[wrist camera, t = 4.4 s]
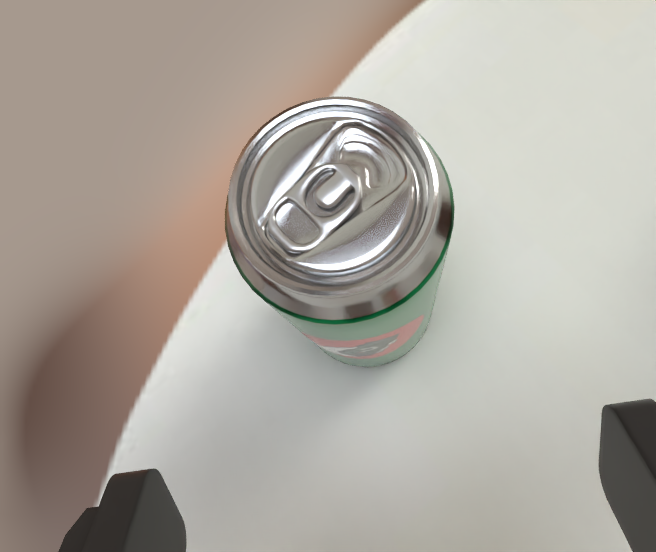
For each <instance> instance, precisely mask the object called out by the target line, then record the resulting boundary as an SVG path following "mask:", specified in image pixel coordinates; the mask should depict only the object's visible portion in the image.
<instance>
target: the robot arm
mask: <svg viewBox="0 0 656 552" xmlns="http://www.w3.org/2000/svg"><path fill="white" fill-rule="evenodd" d="M599 473H600V478H601V483H602V486H603V490H604V493H605V495H606V498H607V500H608V502H609V505H610V507H611V509H612V511H613V513H614V515H615V517H616V519H617V521H618V523H619V525H620V527H621V529H622V531H623V533H624V535H625V537H626V539H627V541H628V543H629V545H630V547H631V549H632V551H633V552H656V402H655V401H654V400H652V399H644V400H637V401H630V402H623V403H616V404H609V405H605V406H604V407H603V410H602V419H601V435H600V451H599ZM59 552H186V530H185V525H184V521H183V519H182V516H181V514H180V512H179V510H178V508H177V506H176V504H175V502H174V500H173V498H172V496H171V494H170V492H169V490H168V488H167V486H166V484H165V482H164V480H163V478H162V476H161V474H160V472H159V471H158V470H157V469H147V470H140V471H133V472H126V473H119V474H115V475H113V476H112V477H111V478H110V480H109V482H108V484H107V486H106V489H105V492H104V494H103V497H102V499H101V502H100V505H99V507H92V508H87V509H86V510H85V511H84V513H83V514H82V515H81V516H80V518H79V519H78V520H77V521H76V523H75V524H74V525H73V526H72V528H71V529H70V530H69V531H68V533H67V534H66V535H65V537H64V540H63V542H62V545H61V547H60V549H59Z"/></svg>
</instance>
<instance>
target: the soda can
mask: <svg viewBox="0 0 656 552" xmlns="http://www.w3.org/2000/svg"><path fill="white" fill-rule="evenodd" d="M453 223H454V201H453V192H452V188H451V184H450V181H449V177H448V174H447V172H446V170H445V168H444V166H443V164H442V162H441V159H440V158H439V156H438V155H437V154H436V152H435V151H434V149H433V148H432V147H431V145H430V144H429V143H428V142H427V141H426V140H425V139H424V138H423V137H422V136H421V135H420V134H419V133H418V132H417V131H415V130H414V129H413V128H412V126H411V125H410V124H409V123H408V122H407V121H405V120H404V119H403V118H401V117H400V116H399V115H397V114H396V113H394V112H393V111H391V110H389V109H387V108H385V107H383V106H381V105H379V104H376V103H373V102H370V101H367V100H363V99H357V98H351V97H326V98H318V99H314V100H310V101H306V102H302V103H300V104H298V105H295V106H293V107H290V108H288V109H286V110H284V111H283V112H281V113H279V114H278V115H276V116H275V117H273V118H272V119H271V120H269V121H268V122H267V123H265V124H264V125H263V126H262V127H261V128H260V129H259V130H258V131H257V132H256V133H255V134H254V135H253V136H252V137H251V138H250V140H249V141H248V143H247V144H246V146H245V147H244V149H243V150H242V152H241V154H240V156H239V158H238V160H237V162H236V164H235V167H234V170H233V173H232V176H231V180H230V185H229V192H228V196H227V203H226V209H225V231H226V237H227V242H228V247H229V250H230V253H231V255H232V258H233V261H234V263H235V265H236V267H237V269H238V270H239V272H240V274H241V276H242V277H243V279H244V280H245V281H246V282H247V284H248V285H249V286H250V287H251V289H252V290H253V291H254V292H255V293H256V294H257V295H259V296H260V297H261V298H262V299H263V300H264V301H265V302H266V303H268V304H269V305H270V306H271V307H272V308H273V309H275V310H276V311H277V312H278V313H279V314H281V315H282V316H283V317H284V318H285V319H286V320H288V321H289V322H290V323H291V324H292V325H293V326H295V327H296V328H297V329H298V330H299V331H300V332H302V333H303V334H304V335H305V336H306V337H308V338H309V339H310V340H311V341H312V342H313V343H315V344H316V345H317V346H318V347H319V348H320V349H322V350H323V351H324V352H325V353H326V354H328V355H329V356H331V357H333V358H334V359H336V360H338V361H340V362H343V363H345V364H349V365H353V366H361V367H371V366H379V365H383V364H387V363H390V362H392V361H395V360H397V359H398V358H400V357H402V356H403V355H405V354H406V353H407V352H409V351H410V350H411V349H412V348H413V347H414V346H415V345H416V344H417V343H418V341H419V340H420V339H421V337H422V336H423V334H424V332H425V331H426V328H427V326H428V323H429V320H430V317H431V313H432V309H433V305H434V301H435V297H436V293H437V289H438V285H439V282H440V278H441V274H442V270H443V266H444V262H445V258H446V254H447V250H448V247H449V243H450V238H451V234H452V230H453Z"/></svg>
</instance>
